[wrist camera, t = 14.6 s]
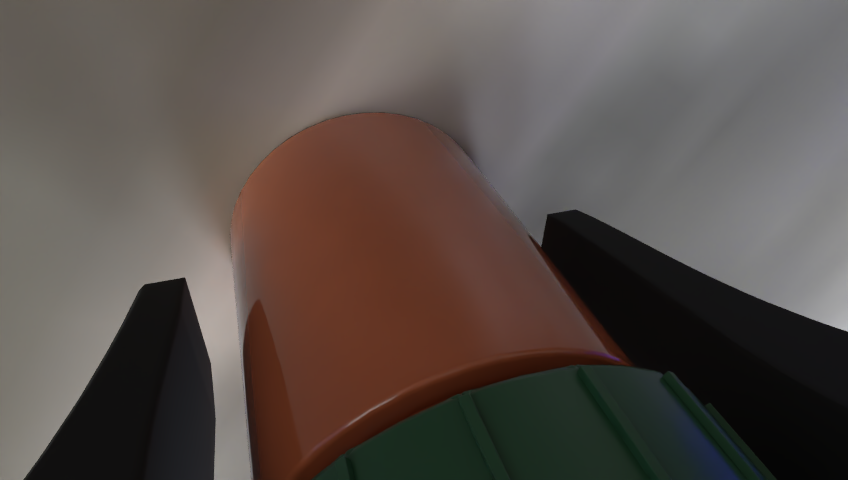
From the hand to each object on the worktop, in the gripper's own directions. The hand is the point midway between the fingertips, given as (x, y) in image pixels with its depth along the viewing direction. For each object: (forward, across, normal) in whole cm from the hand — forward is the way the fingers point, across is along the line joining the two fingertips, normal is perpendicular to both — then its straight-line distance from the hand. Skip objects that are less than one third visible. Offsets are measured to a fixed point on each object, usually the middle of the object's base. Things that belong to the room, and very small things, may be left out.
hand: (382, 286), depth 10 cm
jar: (+2, 0, 0) cm, 2 cm away
